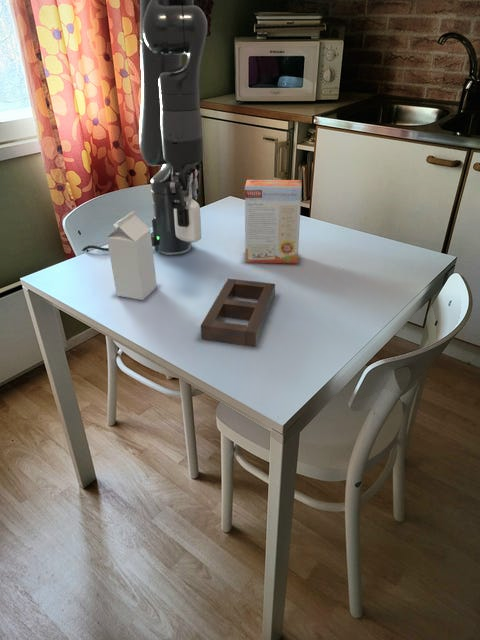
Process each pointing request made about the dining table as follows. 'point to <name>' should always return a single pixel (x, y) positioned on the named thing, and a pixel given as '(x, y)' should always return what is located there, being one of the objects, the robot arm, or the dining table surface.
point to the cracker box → (272, 220)
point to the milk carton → (132, 258)
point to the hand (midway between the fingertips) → (187, 221)
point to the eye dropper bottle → (190, 223)
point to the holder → (239, 312)
